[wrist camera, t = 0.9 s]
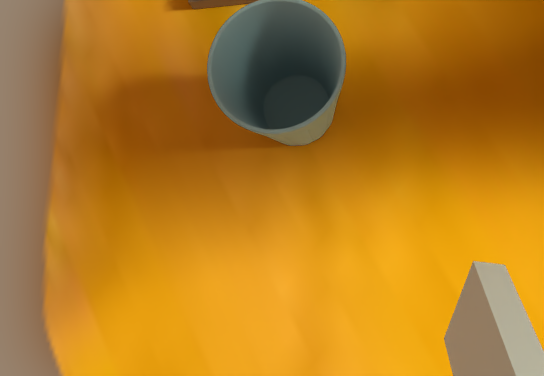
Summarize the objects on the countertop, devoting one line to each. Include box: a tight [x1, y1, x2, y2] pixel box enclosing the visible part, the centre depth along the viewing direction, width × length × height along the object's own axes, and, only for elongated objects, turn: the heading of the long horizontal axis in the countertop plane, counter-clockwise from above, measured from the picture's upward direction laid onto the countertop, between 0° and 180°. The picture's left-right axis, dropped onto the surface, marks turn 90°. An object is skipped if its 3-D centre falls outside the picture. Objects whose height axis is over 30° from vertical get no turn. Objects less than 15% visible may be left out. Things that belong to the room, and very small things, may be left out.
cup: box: [207, 0, 346, 146], centre depth 33 cm, size 8×8×10 cm
